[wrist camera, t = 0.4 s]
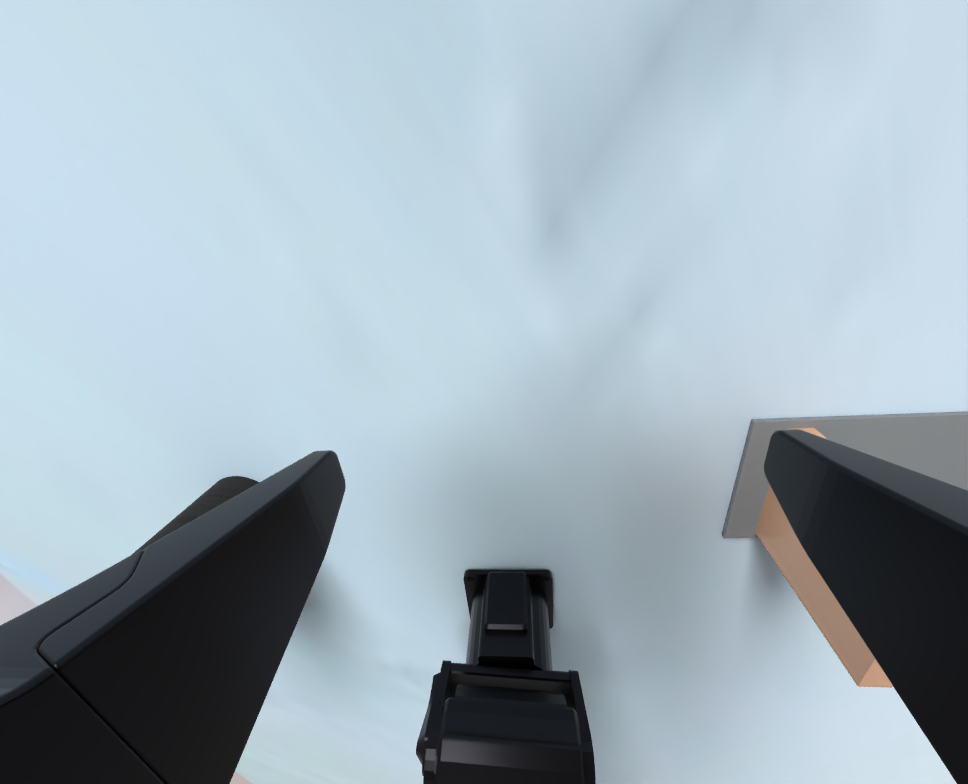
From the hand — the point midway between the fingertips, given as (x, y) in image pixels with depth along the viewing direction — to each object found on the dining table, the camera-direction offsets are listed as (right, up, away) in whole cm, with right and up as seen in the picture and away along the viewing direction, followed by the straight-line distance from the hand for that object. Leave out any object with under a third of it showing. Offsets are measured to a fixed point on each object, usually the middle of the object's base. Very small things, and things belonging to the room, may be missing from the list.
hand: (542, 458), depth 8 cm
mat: (+21, -4, +16) cm, 26 cm away
